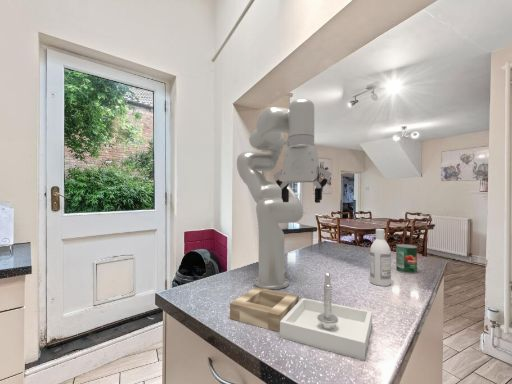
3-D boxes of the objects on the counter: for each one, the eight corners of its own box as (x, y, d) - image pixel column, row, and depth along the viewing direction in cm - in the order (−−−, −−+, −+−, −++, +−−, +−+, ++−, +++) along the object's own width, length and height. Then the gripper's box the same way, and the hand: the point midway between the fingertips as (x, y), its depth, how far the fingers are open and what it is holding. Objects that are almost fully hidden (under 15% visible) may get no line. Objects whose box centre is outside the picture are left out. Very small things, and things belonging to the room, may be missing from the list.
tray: (302, 310, 74) (302, 297, 74) (371, 325, 65) (371, 311, 65) (279, 337, 60) (279, 321, 60) (364, 361, 51) (364, 342, 51)
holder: (255, 300, 81) (255, 287, 81) (298, 309, 74) (298, 295, 74) (229, 318, 69) (229, 303, 69) (279, 332, 62) (279, 314, 62)
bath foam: (393, 283, 97) (393, 229, 97) (387, 288, 92) (387, 230, 92) (373, 279, 102) (373, 227, 102) (367, 283, 97) (367, 229, 97)
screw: (333, 321, 65) (341, 332, 60) (314, 322, 65) (321, 332, 60) (333, 269, 65) (341, 275, 61) (314, 269, 65) (321, 275, 60)
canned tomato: (399, 267, 118) (399, 243, 119) (419, 271, 113) (419, 245, 113) (393, 271, 113) (393, 245, 113) (414, 275, 107) (414, 248, 107)
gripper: (269, 144, 78) (268, 202, 77) (328, 138, 69) (328, 203, 69) (279, 148, 84) (279, 201, 84) (334, 143, 76) (334, 202, 76)
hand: (301, 202), depth 76 cm, fingers open, 9 cm apart
